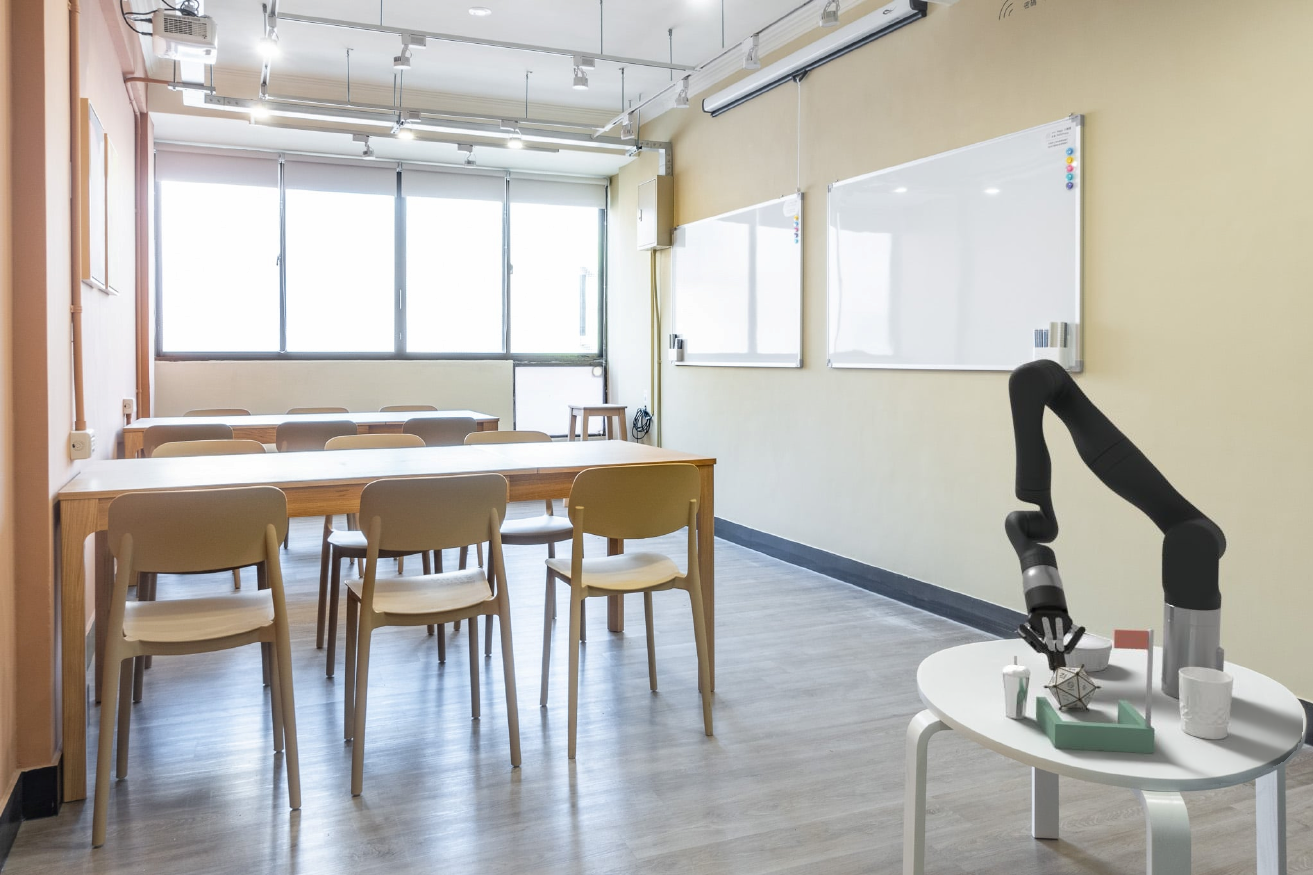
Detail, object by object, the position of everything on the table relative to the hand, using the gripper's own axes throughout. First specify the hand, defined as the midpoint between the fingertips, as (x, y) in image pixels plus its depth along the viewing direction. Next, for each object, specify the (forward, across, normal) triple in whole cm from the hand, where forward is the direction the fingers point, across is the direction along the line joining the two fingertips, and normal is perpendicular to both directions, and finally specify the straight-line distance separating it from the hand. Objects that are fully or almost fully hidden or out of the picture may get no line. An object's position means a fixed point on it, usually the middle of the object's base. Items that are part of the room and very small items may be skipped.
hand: (1058, 671), depth 171 cm
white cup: (+15, +19, -9) cm, 25 cm away
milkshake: (+12, -11, -6) cm, 18 cm away
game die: (+9, 0, -3) cm, 9 cm away
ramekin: (-9, +9, +15) cm, 20 cm away
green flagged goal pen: (+17, 0, -12) cm, 21 cm away
